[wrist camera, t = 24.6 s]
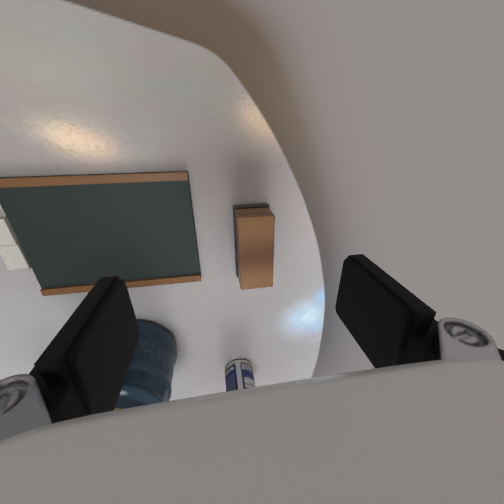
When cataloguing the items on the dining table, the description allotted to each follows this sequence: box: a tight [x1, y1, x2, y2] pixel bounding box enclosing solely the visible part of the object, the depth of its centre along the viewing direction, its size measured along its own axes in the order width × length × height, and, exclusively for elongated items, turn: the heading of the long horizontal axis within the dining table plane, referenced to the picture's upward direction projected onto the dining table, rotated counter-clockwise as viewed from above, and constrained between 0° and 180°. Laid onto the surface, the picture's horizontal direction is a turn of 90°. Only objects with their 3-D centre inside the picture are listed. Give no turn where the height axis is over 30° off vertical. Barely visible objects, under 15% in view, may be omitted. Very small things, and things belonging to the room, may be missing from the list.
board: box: [0, 171, 201, 296], centre depth 32 cm, size 16×22×1 cm
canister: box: [114, 321, 177, 411], centre depth 34 cm, size 13×13×18 cm
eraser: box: [233, 204, 275, 290], centre depth 34 cm, size 11×5×5 cm, turn 1°
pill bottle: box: [225, 360, 255, 392], centre depth 44 cm, size 5×5×10 cm
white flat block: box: [0, 217, 19, 246], centre depth 30 cm, size 4×2×1 cm
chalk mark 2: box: [0, 243, 31, 270], centre depth 32 cm, size 4×2×1 cm
